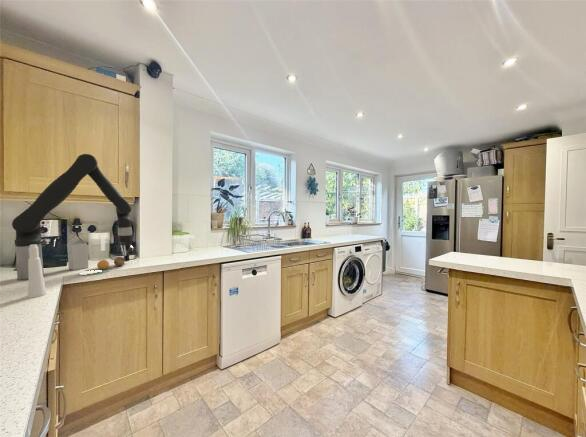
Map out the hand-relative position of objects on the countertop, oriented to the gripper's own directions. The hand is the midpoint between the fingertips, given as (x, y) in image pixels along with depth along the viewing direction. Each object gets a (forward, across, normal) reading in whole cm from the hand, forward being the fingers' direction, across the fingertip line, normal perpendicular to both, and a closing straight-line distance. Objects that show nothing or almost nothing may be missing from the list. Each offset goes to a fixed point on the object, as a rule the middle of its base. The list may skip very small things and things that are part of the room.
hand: (126, 261), depth 160 cm
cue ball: (-1, +1, -6) cm, 6 cm away
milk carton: (+2, -16, -18) cm, 24 cm away
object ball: (-1, 0, -14) cm, 14 cm away
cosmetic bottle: (+2, +13, -50) cm, 52 cm away
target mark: (+2, 0, -19) cm, 19 cm away
